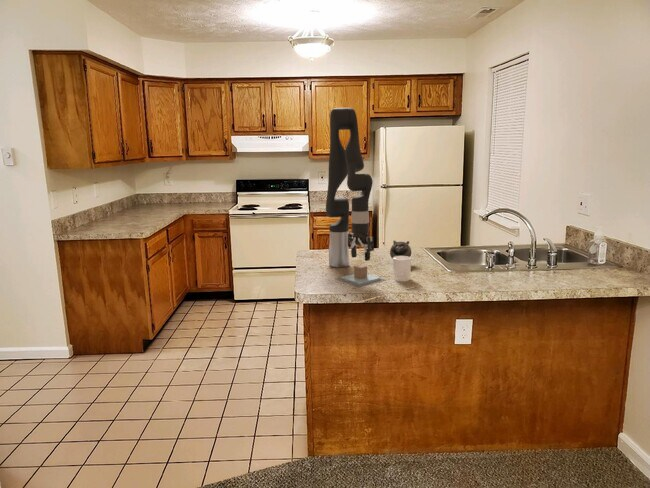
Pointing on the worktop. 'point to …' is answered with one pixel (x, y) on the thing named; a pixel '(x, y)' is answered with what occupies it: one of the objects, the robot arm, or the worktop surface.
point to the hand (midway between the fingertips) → (360, 258)
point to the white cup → (401, 268)
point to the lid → (360, 276)
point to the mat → (360, 285)
